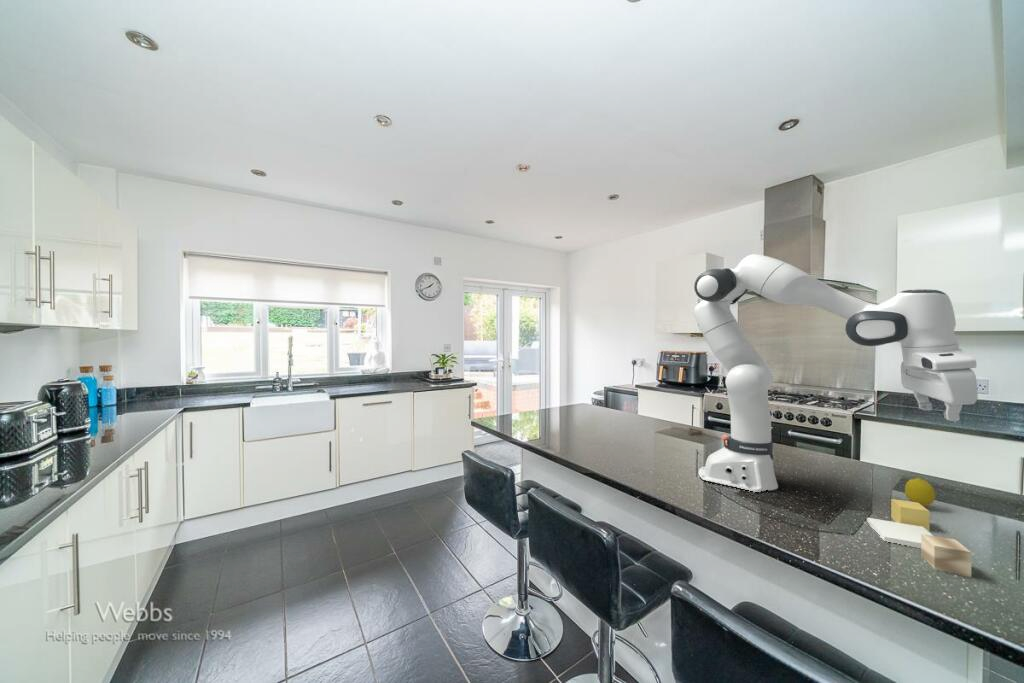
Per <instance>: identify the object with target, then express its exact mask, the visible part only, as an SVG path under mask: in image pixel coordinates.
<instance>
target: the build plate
mask: <svg viewBox="0 0 1024 683" xmlns="http://www.w3.org/2000/svg"><path fill="white" fill-rule="evenodd" d="M867 522H868V523H869V524H870V525H869V524H868V523H867ZM866 523H867V524H868V525H869V526H870V528H872V529H874V530H875V531H876V532H877V533H878V534H879V535H880V536H879V535H878V534H877V533H876V532H875V531H874V530H873V531H874V532H875V533H876V534H877V535H878V536H879V537H880V539H881V538H882V539H883V540H884V541H887V542H886V543H888V542H891V543H890V544H893V543H897V544H896V545H899V544H901V546H904V545H907V546H906V547H910V546H911V547H910V548H915V547H916V548H915V549H920V550H921V534H925V535H931V536H934V535H933V534H932V533H931V531H927V530H926V529H925V528H924V527H922V526H916V525H910V524H903V523H897V522H895V521H891V520H885V519H877V518H872V517H866ZM882 539H881V540H882ZM883 540H882V541H883ZM884 541H883V542H884Z"/></svg>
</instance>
